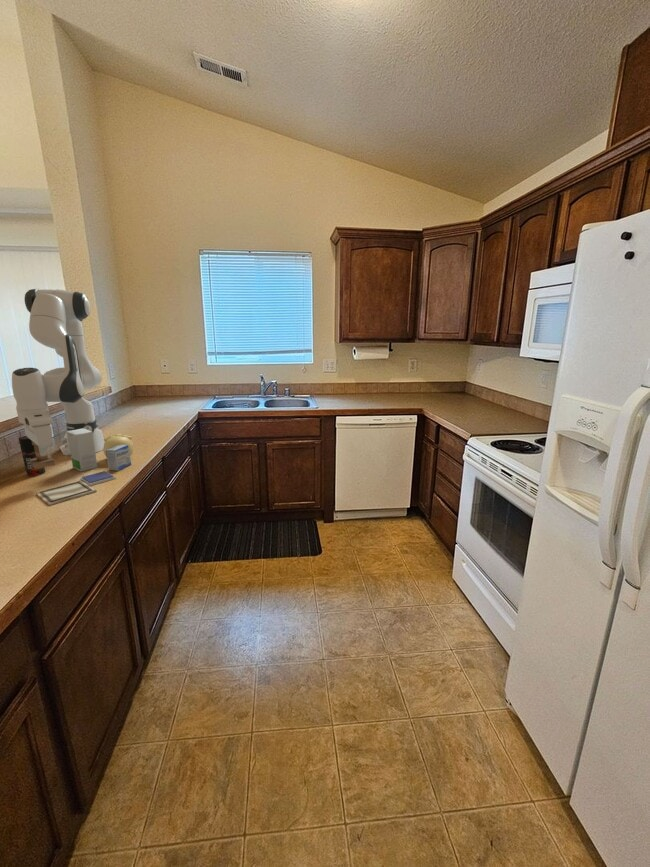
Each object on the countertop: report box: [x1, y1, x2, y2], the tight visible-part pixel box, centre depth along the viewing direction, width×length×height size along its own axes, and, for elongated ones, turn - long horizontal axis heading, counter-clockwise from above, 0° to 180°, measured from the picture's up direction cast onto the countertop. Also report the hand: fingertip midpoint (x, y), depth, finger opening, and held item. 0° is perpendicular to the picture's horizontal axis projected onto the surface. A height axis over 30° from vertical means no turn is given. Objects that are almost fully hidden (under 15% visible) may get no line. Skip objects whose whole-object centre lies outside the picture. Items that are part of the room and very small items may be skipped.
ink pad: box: [79, 470, 117, 487], centre depth 144 cm, size 9×9×1 cm
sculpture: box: [103, 433, 134, 458], centre depth 166 cm, size 12×12×11 cm
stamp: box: [30, 442, 56, 469], centre depth 136 cm, size 6×6×9 cm
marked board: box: [35, 480, 97, 507], centre depth 132 cm, size 14×14×1 cm
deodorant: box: [18, 435, 46, 477], centre depth 149 cm, size 6×6×15 cm
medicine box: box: [105, 445, 132, 472], centre depth 156 cm, size 8×4×9 cm, turn 168°
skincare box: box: [66, 428, 98, 472], centre depth 155 cm, size 8×7×16 cm
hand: (41, 453), depth 136 cm, fingers closed on stamp, 3 cm apart
